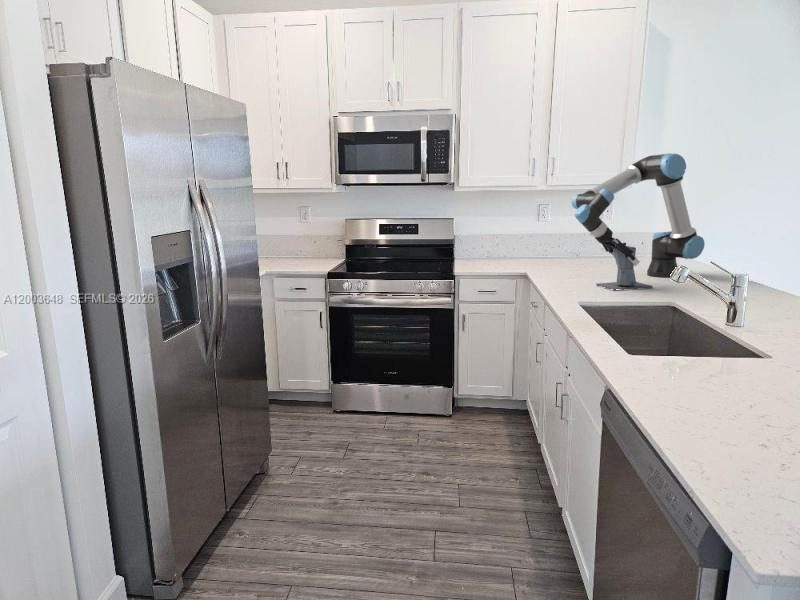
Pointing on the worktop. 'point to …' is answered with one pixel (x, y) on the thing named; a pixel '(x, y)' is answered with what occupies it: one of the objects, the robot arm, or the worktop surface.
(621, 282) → the moka pot
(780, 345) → the worktop surface
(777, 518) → the worktop surface
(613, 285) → the charcoal mat
